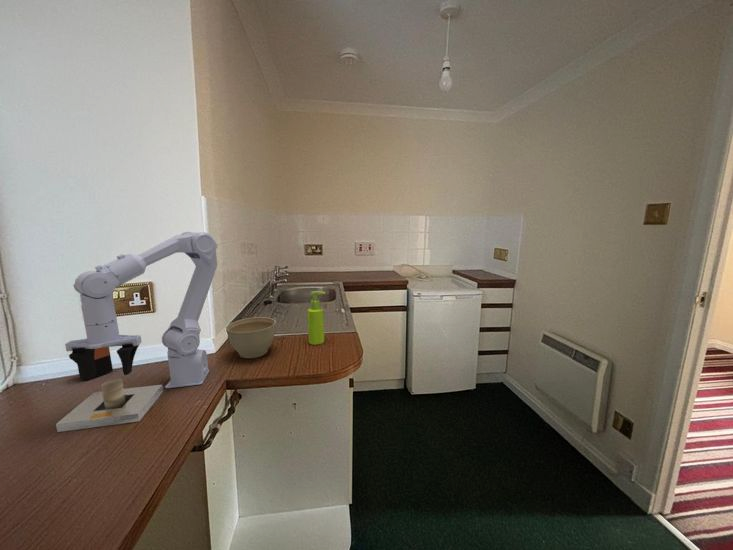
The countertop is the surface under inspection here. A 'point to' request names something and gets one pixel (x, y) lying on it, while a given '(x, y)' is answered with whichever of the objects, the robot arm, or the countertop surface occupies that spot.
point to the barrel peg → (113, 394)
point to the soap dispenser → (316, 320)
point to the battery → (100, 363)
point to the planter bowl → (251, 336)
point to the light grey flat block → (97, 416)
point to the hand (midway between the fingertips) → (110, 374)
